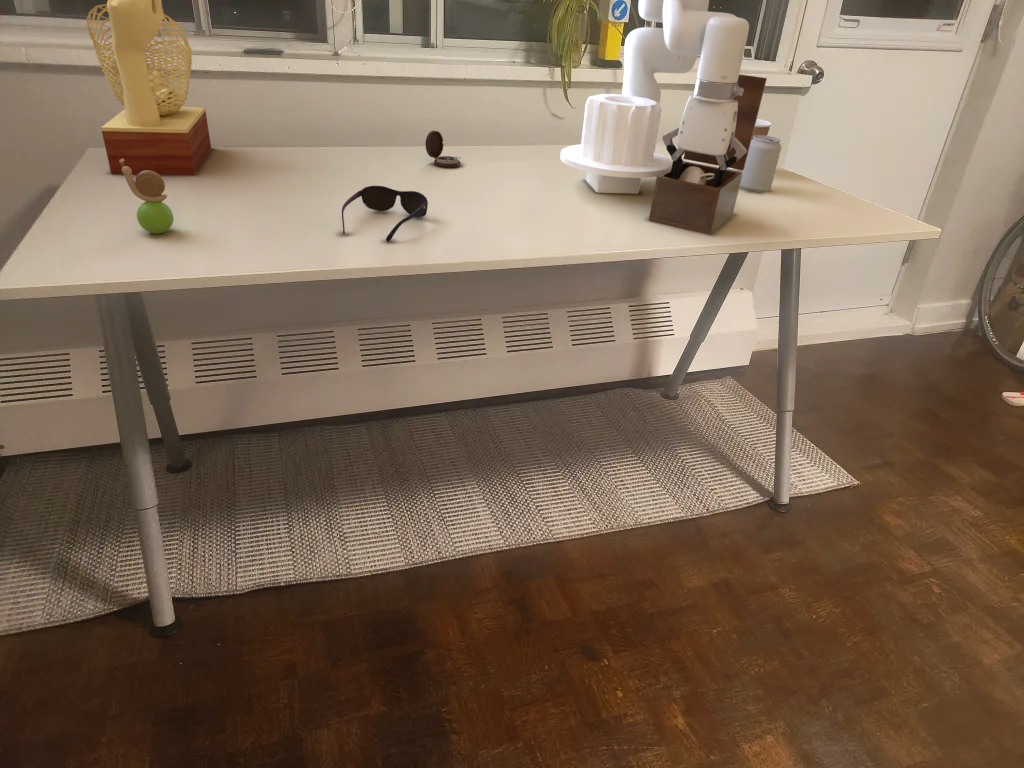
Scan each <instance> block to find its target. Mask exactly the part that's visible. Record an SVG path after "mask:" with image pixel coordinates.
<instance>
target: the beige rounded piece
mask: <svg viewBox="0 0 1024 768" xmlns="http://www.w3.org/2000/svg"><path fill="white" fill-rule="evenodd" d="M706 176H712V177H709V178H706ZM714 178H715V174H714V173H706V174H705V173H704V171H703V170H702V169H700V168H699V167H695V166H691V167H689V168H687V169H686V170H685V171H684V172H683V173H682V174H681V175H680V177H679V179H678V180H682V181H687V182H692V183H697V184H702V185H705V184H706V181H709V180H712V179H714Z"/></svg>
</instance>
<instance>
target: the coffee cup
mask: <svg viewBox="0 0 1024 768" xmlns="http://www.w3.org/2000/svg"><path fill="white" fill-rule="evenodd" d="M772 126H773V124H772V122H770V121H768V120H766V119H761V118H757V120H756V124H755V128H754V132H753V136H755V135H764V136H768V134H769V131H770V127H772ZM753 136H752V139H753ZM728 170H732V171H738V172H742V170H738V169H733V168H728Z"/></svg>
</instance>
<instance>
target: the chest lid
mask: <svg viewBox="0 0 1024 768" xmlns="http://www.w3.org/2000/svg"><path fill="white" fill-rule="evenodd" d="M767 79H768V78H767V77H761V76H754V75H749V74H740V73H739V77H738V82H737V83H738V87H740V88H744V92H743V95H742V96H740V95H738V96H735V98H734V100H736V101H738V111H737V121H736V128H735V134H734V136H735V137H736V138H737V139H738V141H739V142H740V143H741V144H742V145H743V146H744V147H745V148H746V150H747V152H746V153H745V154H744V155H743V156H742V157H741V158H740V159H739V160H738V161H737V162H735V163H734V164H732V165H731V166H729V167H728V168H727V169H729V168H733V169H738V170H744V167H745V163H746V159H747V155H748V151H749V147H750V143H751V140H752V136H753V132H754V128H755V124H756V120H757V119H758V115H759V112H760V107H761V103H762V99H763V96H764V91H765V87H766V84H767V81H768V80H767ZM735 154H736V150H735V149H734V148H733V147H732V149H731V151H730V152H728V153H726V155H727V157H728V160H729V159H730V158H731V157H733V156H734V155H735ZM683 160H685V161H686V160H687V161H693V162H698V163H702V164H707V165H714V166H718V167H719V164H718V162H717V159H716V156H711V155H706V154H701V153H695V152H690V151H686V152H685V153H684V154H683Z"/></svg>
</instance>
